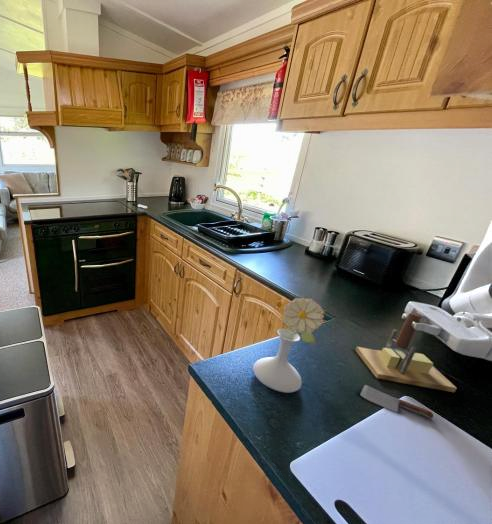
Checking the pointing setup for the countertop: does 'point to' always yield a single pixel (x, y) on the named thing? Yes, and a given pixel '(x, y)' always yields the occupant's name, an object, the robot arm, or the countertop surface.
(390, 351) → the butter slice
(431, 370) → the butter board
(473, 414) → the countertop surface
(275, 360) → the flower in vase
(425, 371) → the butter block
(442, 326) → the robot arm
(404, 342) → the knife
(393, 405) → the cleaver
